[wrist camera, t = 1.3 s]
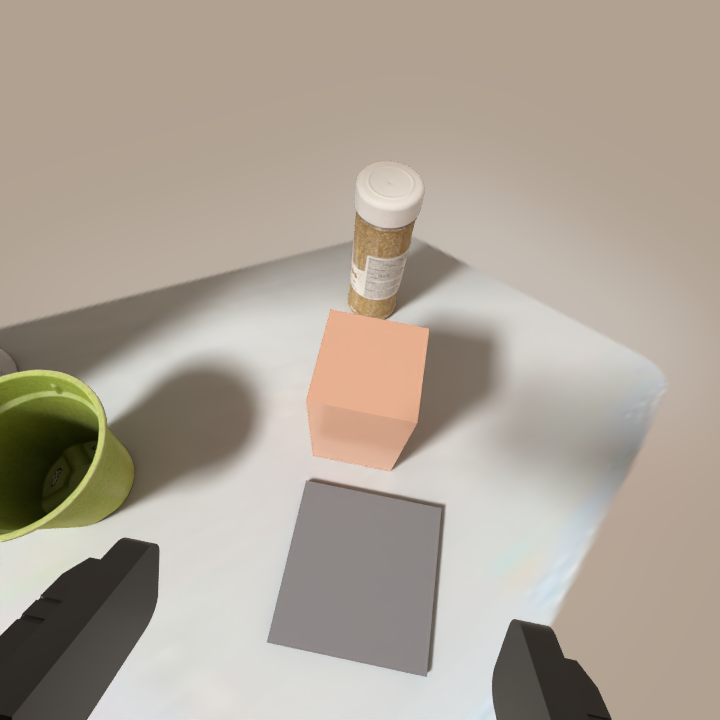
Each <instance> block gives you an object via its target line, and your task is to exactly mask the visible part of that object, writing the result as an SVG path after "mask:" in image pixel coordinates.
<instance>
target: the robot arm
mask: <svg viewBox="0 0 720 720" xmlns="http://www.w3.org/2000/svg"><path fill="white" fill-rule="evenodd" d="M16 372H18V370H17V367H16V364H15V362H14V361H13V359H12V358H11V356H10V355H9V354H7V353H6V352H5V351H4V350H2V349H1V348H0V377H1V376H5V375H8V374H12V373H16ZM158 578H159V546H158V545H157V544H154V543H149V542H144V541H140V540H135V539H130V538H122V539H120V540H119V541H118V542H117V543H116V544H115V545H114V546H113V547H112V548H111V549H110V550H109V551H108V552H107V553H106V554H105V555H104V557H103V558H102V559H101V560H99V559H95V558H88V559H87V560H85V561H83V562H81V563H80V564H78V565H76V566H75V567H73V568H71V569H70V570H68V571H66V572H65V573H63V574H62V575H61V576H60V577H59V578H58V579H57V580H56V581H55V582H54V583H53V584H52V585H51V586H50V587H49V588H48V589H47V590H46V591H45V592H44V593H43V594H42V595H41V597H40V599H39V600H36V601H35V602H34V603H33V604H32V605H31V606H30V607H29V608H28V609H27V610H26V611H25V612H24V613H23V614H22V616H21V618H20V619H17V620H16V621H15V622H14V623H13V624H12V625H11V626H10V627H9V628H8V629H7V630H6V631H5V632H4V633H3V634H2V635H1V636H0V720H87V719H88V717H89V716H90V714H91V713H92V711H93V709H94V708H95V706H96V705H97V703H98V702H99V700H100V699H101V697H102V696H103V694H104V693H105V691H106V689H107V688H108V686H109V685H110V683H111V682H112V680H113V679H114V677H115V676H116V674H117V672H118V671H119V669H120V668H121V666H122V665H123V663H124V662H125V660H126V659H127V657H128V655H129V654H130V652H131V651H132V649H133V648H134V646H135V645H136V643H137V642H138V640H139V638H140V637H141V635H142V634H143V632H144V631H145V629H146V628H147V626H148V624H149V622H150V620H151V618H152V615H153V613H154V610H155V607H156V603H157V598H158ZM492 696H493V704H494V709H495V714H496V719H497V720H611V717H610V714H609V712H608V710H607V708H606V705H605V703H604V701H603V699H602V697H601V694H600V692H599V690H598V688H597V687H596V685H595V684H594V683H593V681H592V680H591V679H590V677H589V676H588V675H587V674H586V672H585V671H584V670H583V668H582V667H581V666H580V665H579V663H578V662H577V661H575V660H571V659H566V658H564V655H563V653H562V650H561V648H560V645H559V643H558V640H557V638H556V635H555V634H554V631H553V630H552V629H551V627H549V626H545V625H540V624H535V623H531V622H526V621H521V620H516V619H514V620H512V621H511V623H510V625H509V628H508V630H507V633H506V636H505V639H504V642H503V645H502V648H501V650H500V653H499V656H498V659H497V662H496V665H495V668H494V672H493V679H492Z"/></svg>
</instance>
